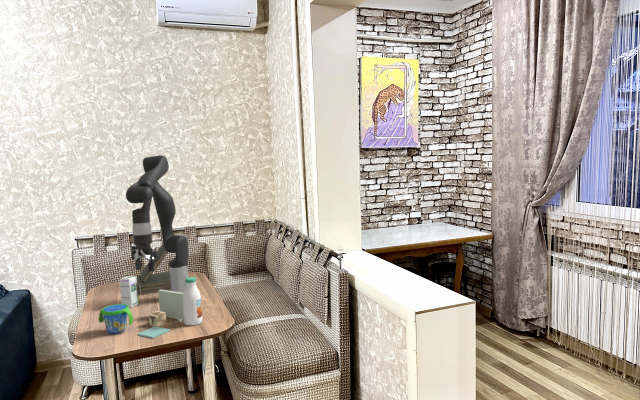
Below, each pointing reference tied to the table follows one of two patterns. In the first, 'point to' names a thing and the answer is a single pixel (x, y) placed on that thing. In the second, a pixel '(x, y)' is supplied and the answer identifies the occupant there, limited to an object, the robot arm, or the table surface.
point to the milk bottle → (192, 303)
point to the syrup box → (129, 291)
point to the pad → (153, 332)
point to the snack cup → (115, 317)
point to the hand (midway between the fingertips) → (144, 270)
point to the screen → (171, 304)
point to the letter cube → (157, 318)
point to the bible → (154, 276)
